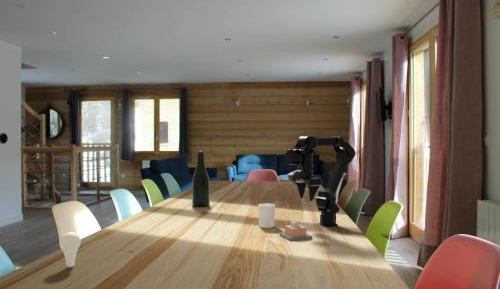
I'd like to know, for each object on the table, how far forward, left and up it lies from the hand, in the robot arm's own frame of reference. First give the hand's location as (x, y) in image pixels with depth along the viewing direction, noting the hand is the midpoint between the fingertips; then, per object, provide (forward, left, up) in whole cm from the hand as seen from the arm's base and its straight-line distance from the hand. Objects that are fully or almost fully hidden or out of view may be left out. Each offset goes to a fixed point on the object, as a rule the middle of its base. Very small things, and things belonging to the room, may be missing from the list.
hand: (306, 199), depth 177 cm
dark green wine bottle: (+31, -77, -13) cm, 84 cm away
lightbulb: (+94, +23, -13) cm, 98 cm away
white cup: (+15, -10, -13) cm, 22 cm away
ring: (+11, +12, -12) cm, 20 cm away
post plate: (+11, +12, -13) cm, 21 cm away
